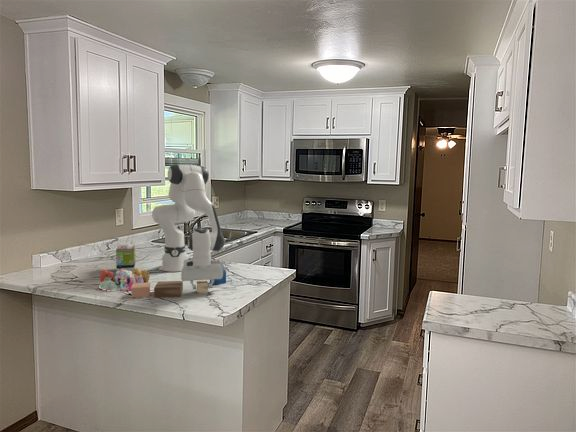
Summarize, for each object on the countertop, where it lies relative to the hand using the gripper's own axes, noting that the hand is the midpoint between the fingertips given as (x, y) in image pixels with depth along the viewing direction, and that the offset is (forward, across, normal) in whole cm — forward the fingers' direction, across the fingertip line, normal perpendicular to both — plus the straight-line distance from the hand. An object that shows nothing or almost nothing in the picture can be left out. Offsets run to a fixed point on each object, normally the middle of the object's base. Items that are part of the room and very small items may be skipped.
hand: (202, 288), depth 221 cm
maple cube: (+2, 0, 0) cm, 2 cm away
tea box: (+2, +41, -53) cm, 67 cm away
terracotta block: (+2, +29, -1) cm, 29 cm away
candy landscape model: (+2, +38, -20) cm, 43 cm away
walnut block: (+2, +16, 0) cm, 16 cm away
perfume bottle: (+2, -9, -15) cm, 18 cm away
